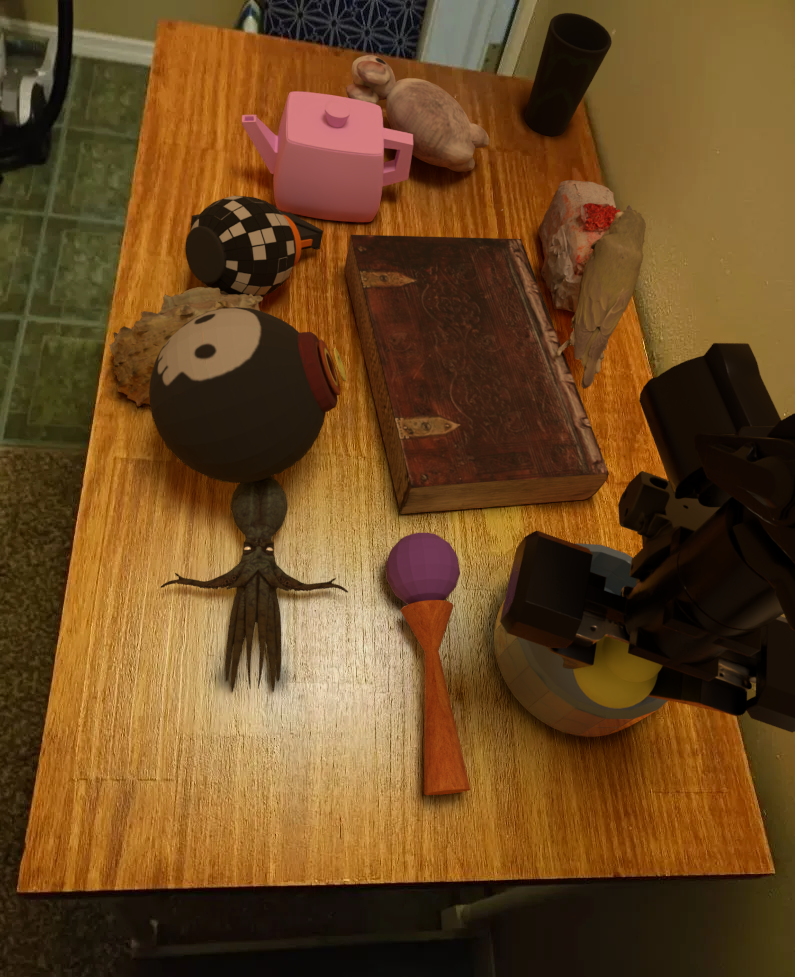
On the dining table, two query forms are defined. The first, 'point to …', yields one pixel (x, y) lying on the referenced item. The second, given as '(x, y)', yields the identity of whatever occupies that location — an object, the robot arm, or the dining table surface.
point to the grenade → (247, 245)
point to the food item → (573, 236)
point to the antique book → (468, 375)
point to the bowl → (555, 687)
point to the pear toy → (617, 675)
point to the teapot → (330, 156)
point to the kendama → (431, 647)
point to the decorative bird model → (606, 290)
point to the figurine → (256, 577)
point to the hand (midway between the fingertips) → (604, 674)
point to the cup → (565, 71)
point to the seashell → (163, 335)
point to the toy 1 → (242, 393)
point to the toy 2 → (420, 114)
